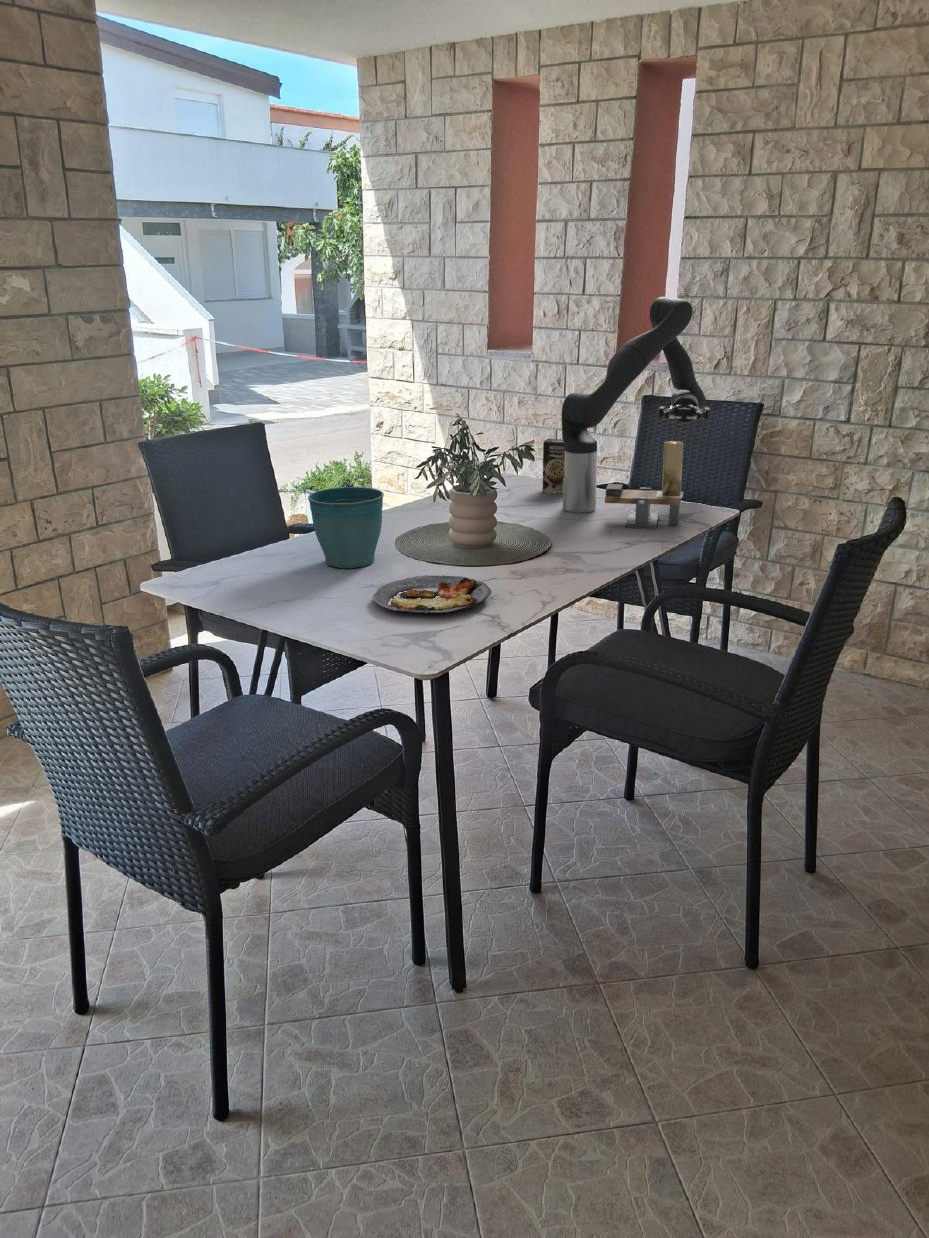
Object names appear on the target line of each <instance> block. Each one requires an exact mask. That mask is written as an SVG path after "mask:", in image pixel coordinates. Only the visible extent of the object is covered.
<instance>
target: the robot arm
mask: <svg viewBox="0 0 929 1238" xmlns="http://www.w3.org/2000/svg"><path fill="white" fill-rule="evenodd" d="M693 313H694V309H693V305H692V304H691V302H689V301H688V300H685V299H682V298H676V297H675V298H674V297H670V296H669V297H668V296H659V297H658V298H657V297H656V299H655V300H653V302H652V303H651V306H650V309H649V320H650V324H651V326H652V329H650V330H648V331H646V332H644V333H641V334H639V335H638V336H635V337H634V338H631V339H629V340H628V341H626V342H625V343H624V344H623V345H622V346H621V347H620V348H619V349H618V350H617V351H616V352H615V353H614V355H613V356H611V359H610V360H609V362H608V365H607V369H606V375H605V379H604V381H603V382H602V383H601V384H600V385H599V386H598V387H597V388H596V389H595V390H593V392H592V393H584V392H572V393H569V394H568V395H567V396H566V397H565V399H564V400H563V403H562V405H561V439H563V442H564V445H565V477H564V478H563V494H562V511H563V512H569V513H579V514H580V513H582V514H583V513H591V512H595V510H596V508H597V506H596V505H597V476H598V475H597V473H598V470H597V469H598V467H597V466H598V441H597V440H596V439H595V438H594V437H593V436H592V435H591V434H590V432H589V431H588V429H592V428H594V427H595V428H596V427H597V426H598V425H599V424H600V423H601V422H602V421H603V420H604V418H605V417H606V416H607V414H608V413H609V412H610V410H611V409H612V408H613V406H614V404H616V402H617V400H618V399H619V398H620V397H621V396H622V394H624V392H626V390H627V389H628V388H629V387H630V385H631V384H632V383H633V382H634V381H635V380H636V379H637V378H638V377H639V376H640V374H642V372H643V371H644V370H645V369H646V368H647V367H648V366H649V364H650V363H651V362H652V361H653V360H654V359H655V358H656V357H657V356H658V355H659V354H660V353H661V351H662V352H663V355H664V356H665V359H666V363H667V366H668V370H669V371H668V372H669V375H670V379H671V384H672V386H673V389H675V390H679V391H676V392H674V393H673V394H672V395H671V397H670V405H671V406H669V408H667V406H665V405H660V407H659V408H658V418H665V419H666V420H670V419H671V420H672V419H673V420H674V419H675V420H676V421H677V422H679V423H683V424H686V423H690V422H691V421H693V420H696V421H699V420H701V419H703V418H704V419H709V418H710V417H709V416H710V407H709V406H705V404H706V395H705V394H704V391H703V389H702V388H701V386H700V385H699V383H698V381H697V379H696V376H695V371H694V366H693V362H692V359H691V357H690V355H689V354H688V352H687V350H686V349H685V348H684V346H683V345H682V343H681V341H680V340H679V339H678V336H679V335H680V334H681V333H683V331H684V330H685V329H687V327H688V325H689V324H690V322H691V320H692V317H693Z"/></svg>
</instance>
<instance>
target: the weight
mask: <svg viewBox="0 0 929 1238" xmlns="http://www.w3.org/2000/svg"><path fill="white" fill-rule="evenodd" d="M683 452H684V442H683V441H679V440H678V441H676V440H669V441H664V443H663V460H662V461H663V462H662V464H663V465H662V484H661V486H662V487H661V491H662V495H664V496H679V495H681V491H682V477H683V460H684V459H683V457H684V455H683V454H684V453H683Z"/></svg>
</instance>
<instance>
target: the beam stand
mask: <svg viewBox="0 0 929 1238" xmlns="http://www.w3.org/2000/svg"><path fill="white" fill-rule="evenodd" d="M639 490H652V487H639ZM680 507H681V504H680V505H669V515H668V516H669V517H668V526H669V525H671V526H670V527H678V525H679V521H680V519H679V518H680ZM659 517H660V511H651V504H648V497H636V504H635V510H630V512H629V514H628V516H627V519H626V522H625V528H626V529H642V528H650V529H649V530H652V529H651V528H654V529H653V530H656V529H655V528H657V525H656V524H658V521H657V520H659Z"/></svg>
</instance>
